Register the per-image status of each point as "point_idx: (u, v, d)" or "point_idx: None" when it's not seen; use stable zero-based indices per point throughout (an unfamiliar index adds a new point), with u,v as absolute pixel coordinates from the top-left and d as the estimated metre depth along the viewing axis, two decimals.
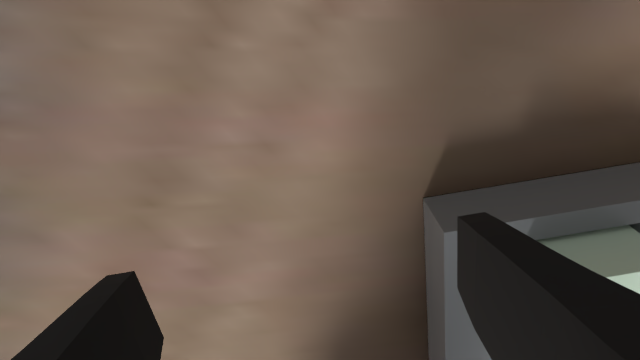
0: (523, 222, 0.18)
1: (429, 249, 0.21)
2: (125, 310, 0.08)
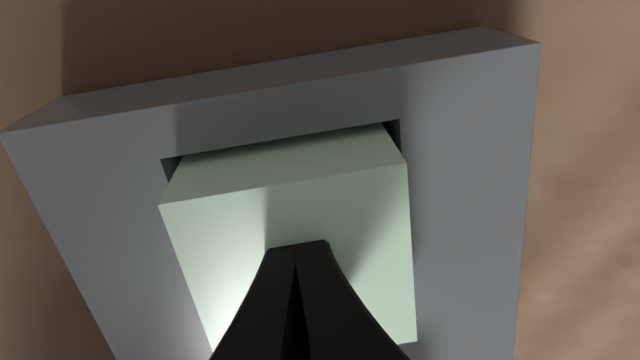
0: (155, 114, 0.09)
1: None
2: None
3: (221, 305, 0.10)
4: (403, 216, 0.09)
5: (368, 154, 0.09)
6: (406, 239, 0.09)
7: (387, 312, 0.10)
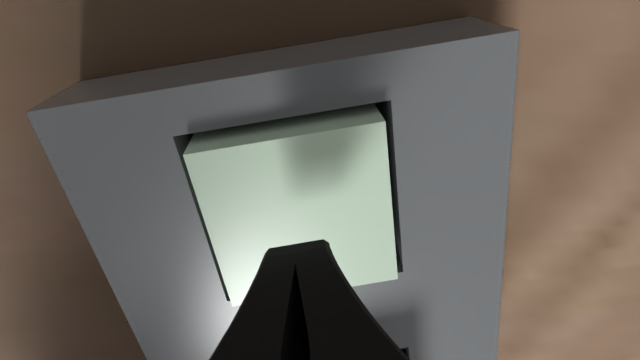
0: (169, 95, 0.10)
1: None
2: None
3: (233, 243, 0.12)
4: (384, 167, 0.11)
5: (354, 116, 0.11)
6: (386, 187, 0.11)
7: (372, 252, 0.12)
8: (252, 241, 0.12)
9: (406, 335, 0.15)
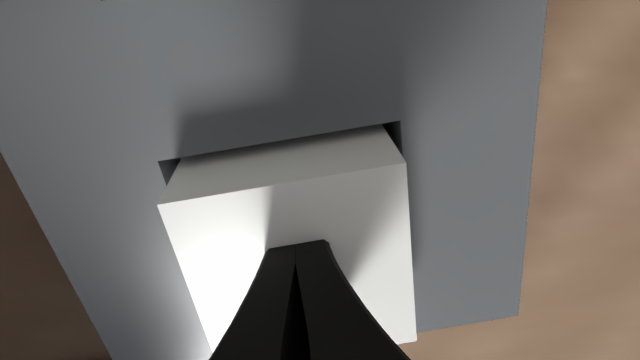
0: None
1: None
2: None
3: None
4: None
5: None
6: None
7: None
8: None
9: (396, 96, 0.09)
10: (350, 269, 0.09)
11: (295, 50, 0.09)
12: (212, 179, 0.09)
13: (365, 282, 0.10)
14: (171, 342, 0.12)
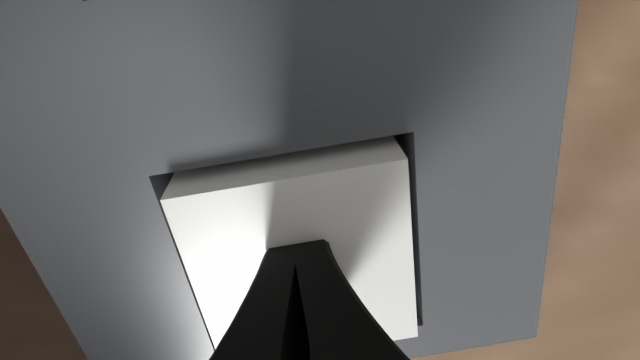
0: None
1: None
2: None
3: None
4: None
5: None
6: None
7: None
8: None
9: (410, 105, 0.09)
10: (352, 264, 0.10)
11: (299, 55, 0.08)
12: (215, 174, 0.09)
13: (367, 278, 0.10)
14: None
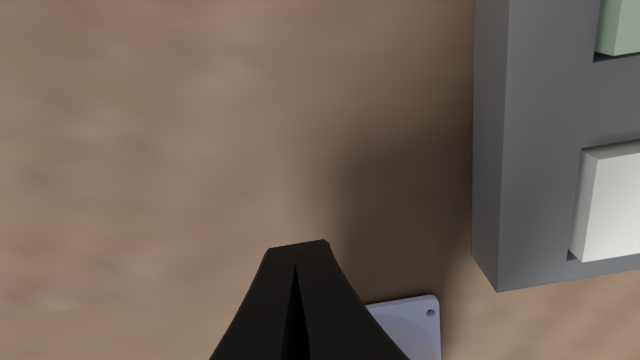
0: None
1: None
2: None
3: None
4: None
5: None
6: None
7: None
8: None
9: None
10: None
11: None
12: (609, 148, 0.17)
13: None
14: (536, 264, 0.19)
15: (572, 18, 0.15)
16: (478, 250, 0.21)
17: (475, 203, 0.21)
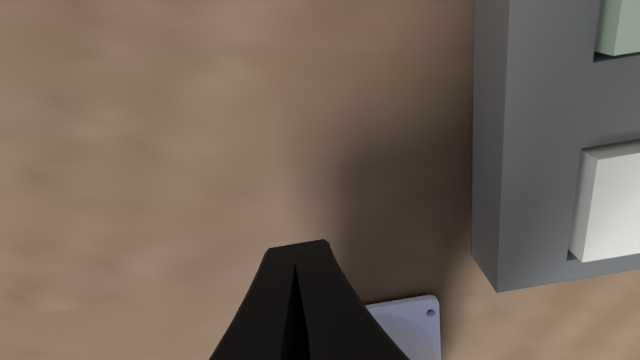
0: None
1: None
2: None
3: None
4: None
5: None
6: None
7: None
8: None
9: None
10: None
11: None
12: (609, 148, 0.17)
13: None
14: (536, 264, 0.19)
15: (572, 18, 0.15)
16: (478, 250, 0.21)
17: (475, 203, 0.21)
